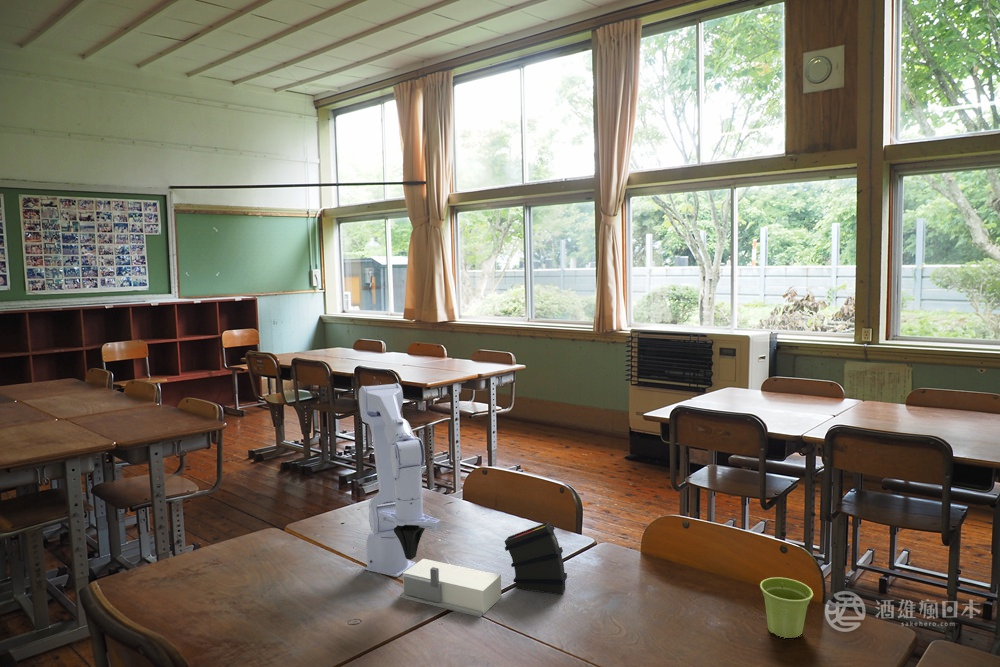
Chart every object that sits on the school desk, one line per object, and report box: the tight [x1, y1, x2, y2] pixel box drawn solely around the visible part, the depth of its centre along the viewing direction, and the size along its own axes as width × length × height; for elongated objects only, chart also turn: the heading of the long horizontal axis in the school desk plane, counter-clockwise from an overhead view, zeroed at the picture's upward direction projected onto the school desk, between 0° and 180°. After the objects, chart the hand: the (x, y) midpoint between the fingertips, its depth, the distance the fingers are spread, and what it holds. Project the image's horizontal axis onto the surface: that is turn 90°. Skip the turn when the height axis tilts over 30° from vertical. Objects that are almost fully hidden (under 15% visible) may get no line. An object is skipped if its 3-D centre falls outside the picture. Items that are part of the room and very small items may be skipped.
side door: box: [404, 567, 441, 602], centre depth 146 cm, size 9×1×7 cm, turn 63°
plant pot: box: [759, 577, 814, 639], centre depth 132 cm, size 9×9×9 cm
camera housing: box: [399, 558, 502, 618], centre depth 148 cm, size 20×9×5 cm, turn 63°
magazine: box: [504, 521, 568, 596], centre depth 151 cm, size 4×13×15 cm, turn 70°
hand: (410, 557), depth 147 cm, fingers closed
